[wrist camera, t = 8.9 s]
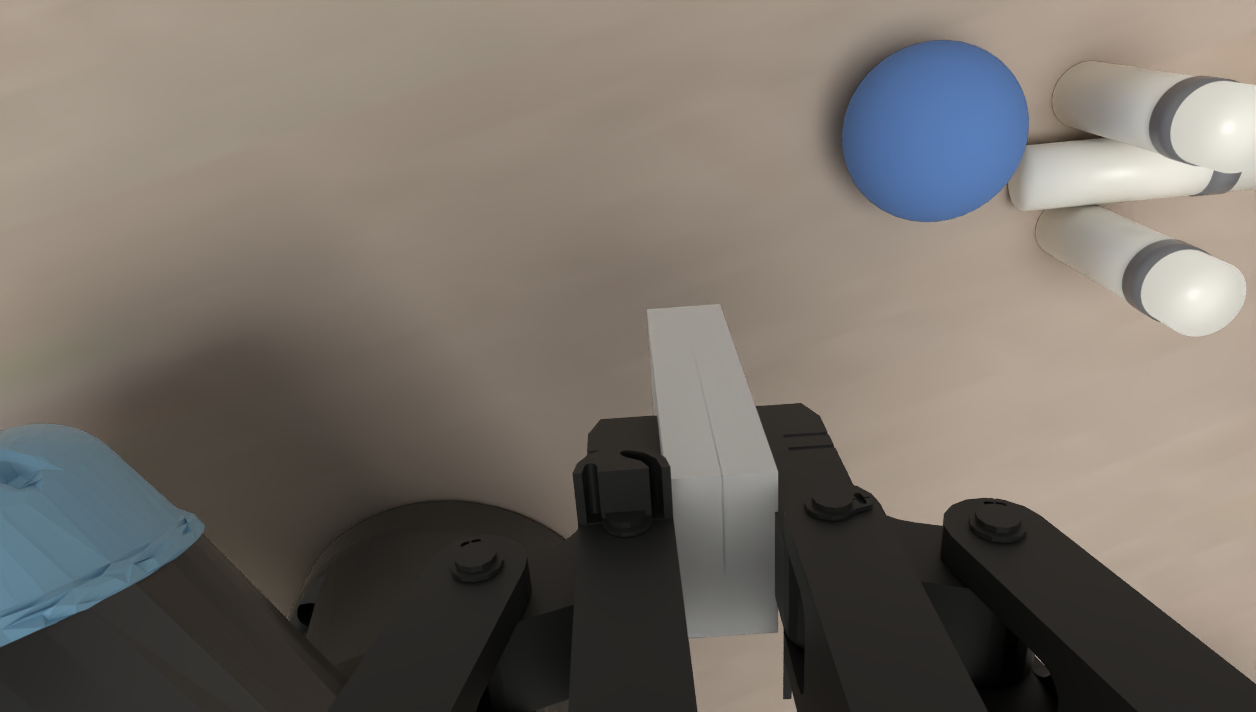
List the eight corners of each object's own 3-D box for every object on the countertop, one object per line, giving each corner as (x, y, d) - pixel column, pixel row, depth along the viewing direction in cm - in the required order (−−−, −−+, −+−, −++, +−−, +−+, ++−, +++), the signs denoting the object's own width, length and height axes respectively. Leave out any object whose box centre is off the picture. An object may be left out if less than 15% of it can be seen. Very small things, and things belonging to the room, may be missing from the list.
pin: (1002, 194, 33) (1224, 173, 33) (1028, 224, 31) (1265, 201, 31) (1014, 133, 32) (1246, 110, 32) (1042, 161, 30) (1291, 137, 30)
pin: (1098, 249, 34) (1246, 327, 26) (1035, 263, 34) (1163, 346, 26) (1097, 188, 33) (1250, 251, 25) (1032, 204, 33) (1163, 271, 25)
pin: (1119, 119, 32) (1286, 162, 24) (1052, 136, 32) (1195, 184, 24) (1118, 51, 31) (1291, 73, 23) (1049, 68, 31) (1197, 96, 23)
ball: (981, 188, 25) (815, 231, 29) (1070, 207, 29) (910, 242, 33) (960, -12, 25) (799, 61, 30) (1050, 33, 29) (895, 92, 34)
